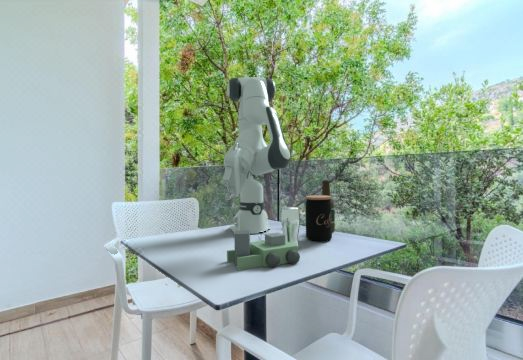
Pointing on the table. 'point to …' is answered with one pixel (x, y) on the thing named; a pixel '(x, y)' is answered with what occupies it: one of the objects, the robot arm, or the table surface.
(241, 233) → the tall gray column
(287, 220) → the beer glass
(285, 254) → the green toy forklift
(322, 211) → the coffee jar
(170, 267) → the table surface
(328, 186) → the beer bottle
